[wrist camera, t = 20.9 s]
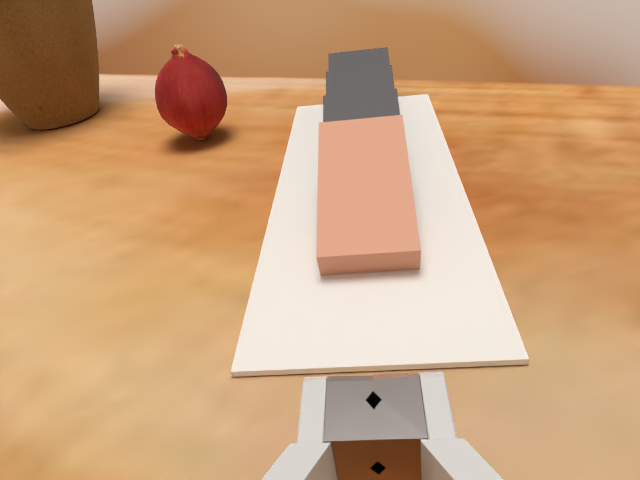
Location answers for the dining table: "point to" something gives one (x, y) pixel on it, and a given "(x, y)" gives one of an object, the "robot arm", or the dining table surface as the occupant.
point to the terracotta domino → (365, 198)
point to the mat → (376, 276)
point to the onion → (190, 94)
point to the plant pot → (49, 61)
